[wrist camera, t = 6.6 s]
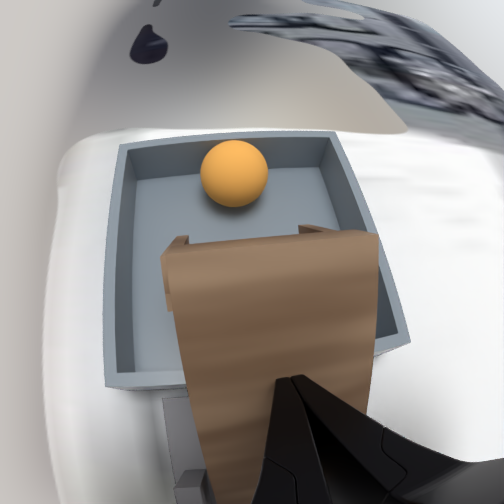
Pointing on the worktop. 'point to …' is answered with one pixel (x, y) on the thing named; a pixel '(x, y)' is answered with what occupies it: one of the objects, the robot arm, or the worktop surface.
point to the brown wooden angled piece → (268, 334)
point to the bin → (215, 236)
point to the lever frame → (186, 454)
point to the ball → (234, 173)
